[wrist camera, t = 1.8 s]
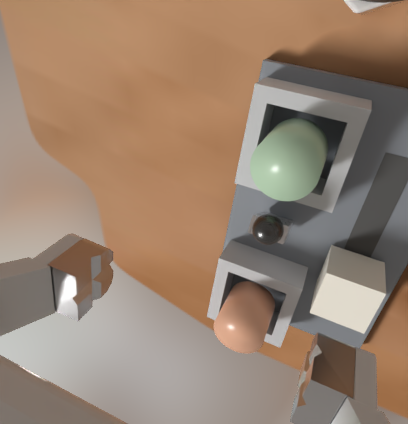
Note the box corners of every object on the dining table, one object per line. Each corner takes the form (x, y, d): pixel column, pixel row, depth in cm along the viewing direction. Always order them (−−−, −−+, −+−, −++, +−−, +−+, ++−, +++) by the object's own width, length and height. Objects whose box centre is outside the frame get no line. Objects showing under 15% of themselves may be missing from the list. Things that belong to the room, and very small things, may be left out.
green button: (337, 126, 22) (330, 145, 19) (317, 184, 24) (308, 209, 21) (274, 111, 23) (258, 126, 20) (260, 167, 25) (244, 189, 22)
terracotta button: (280, 292, 29) (268, 326, 26) (269, 325, 32) (257, 360, 28) (234, 274, 30) (218, 305, 27) (226, 307, 33) (210, 340, 29)
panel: (490, 105, 22) (510, 120, 18) (357, 344, 33) (356, 380, 30) (266, 58, 25) (250, 64, 22) (217, 288, 37) (202, 314, 33)
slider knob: (384, 262, 27) (386, 294, 24) (365, 300, 29) (364, 333, 26) (331, 244, 28) (326, 272, 25) (316, 282, 30) (309, 312, 27)
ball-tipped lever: (295, 215, 28) (290, 221, 22) (287, 239, 29) (279, 252, 22) (266, 206, 29) (252, 209, 22) (258, 229, 29) (242, 239, 23)
